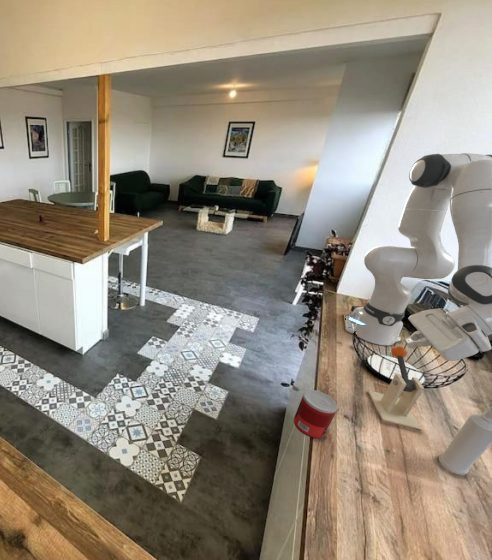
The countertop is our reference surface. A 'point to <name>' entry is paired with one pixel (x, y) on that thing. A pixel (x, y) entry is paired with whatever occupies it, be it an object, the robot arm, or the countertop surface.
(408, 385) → the switch lever
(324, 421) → the canned food
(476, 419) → the bottle
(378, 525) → the countertop surface
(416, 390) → the switch base
